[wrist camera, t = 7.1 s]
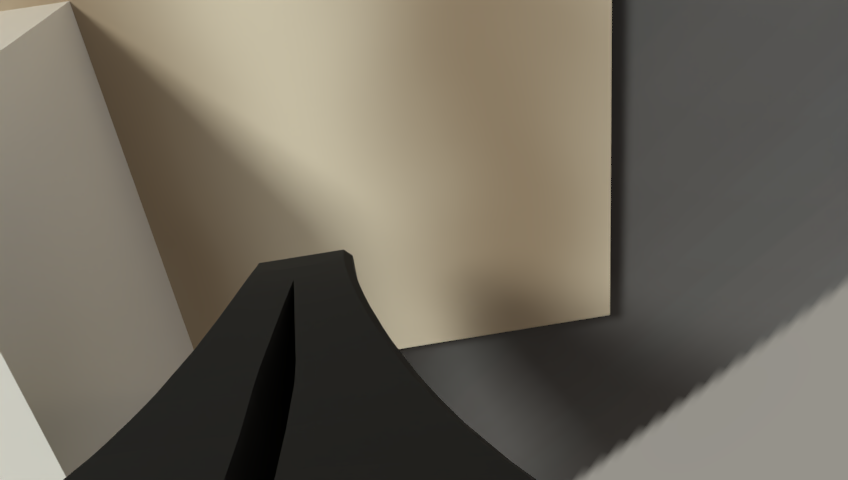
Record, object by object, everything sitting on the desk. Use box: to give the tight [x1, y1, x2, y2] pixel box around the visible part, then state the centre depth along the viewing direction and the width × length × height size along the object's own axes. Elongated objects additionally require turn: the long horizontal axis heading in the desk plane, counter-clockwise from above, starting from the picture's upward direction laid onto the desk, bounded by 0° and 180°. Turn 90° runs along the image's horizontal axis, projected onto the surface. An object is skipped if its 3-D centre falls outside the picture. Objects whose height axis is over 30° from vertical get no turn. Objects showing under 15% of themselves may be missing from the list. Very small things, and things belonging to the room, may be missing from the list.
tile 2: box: [0, 1, 194, 480], centre depth 12 cm, size 2×8×6 cm, turn 7°
